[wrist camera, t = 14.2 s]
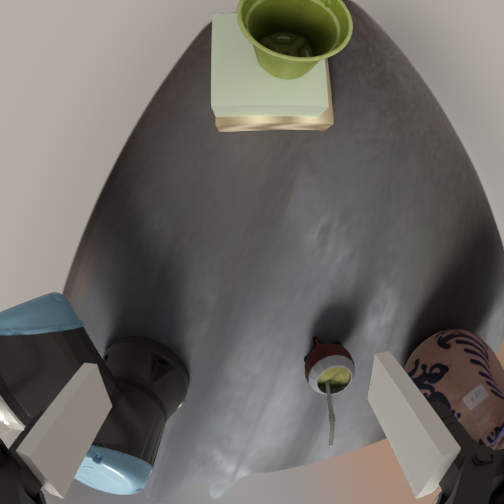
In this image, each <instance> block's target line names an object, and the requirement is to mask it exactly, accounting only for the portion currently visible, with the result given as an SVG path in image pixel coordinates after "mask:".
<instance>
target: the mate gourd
mask: <svg viewBox="0 0 504 504" xmlns="http://www.w3.org/2000/svg"><path fill="white" fill-rule="evenodd" d="M312 339H313V341H314V343H315V345H316V347H315V348H314V349H313V350H312V351H311V352H310V353H309V355H308V356H307V357H305V358H304V362H305V377H306V379H307V381H308V382H309V384H310V386H311V387H312V389H313V390H315V391H317V392H319V393H321V394H326V395H327V400H328V407H329V422H330V437H329V445H332V444H333V437H334V421H335V415H334V414H333V407H332V400H331V395H333V394H338V393H340V392H342V391H344V390H345V389H346V388H347V387H348V386H349V385H350V383H351V381H352V379H353V378H354V373H355V367H354V362H353V359H352V357H351V355H350V353H349V352H348V351H347V350H346V349H345V348H344V347H343V346H341V342H340V341H339V340H338V341H336V342H334V343H326V344H321V343H320V341H319V339H318V337H317V336H315V337H313V338H312Z"/></svg>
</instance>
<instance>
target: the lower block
mask: <svg viewBox="0 0 504 504" xmlns="http://www.w3.org/2000/svg"><path fill="white" fill-rule="evenodd" d="M325 66H326V77H327V89H328V104H329V107H328V108H327V109H326V110H325V111H324V112H323V113H322V114H321V115H320V116H319V117H303V116H234V117H216V116H215V119H216V127H217V129H218V131H219V132H230V131H250V130H326V129H327V128H329V127H330V126H332V125H333V124H334V121H333V108H332V96H331V86H330V77H329V68H328V60H327V58H326V59H325Z"/></svg>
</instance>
